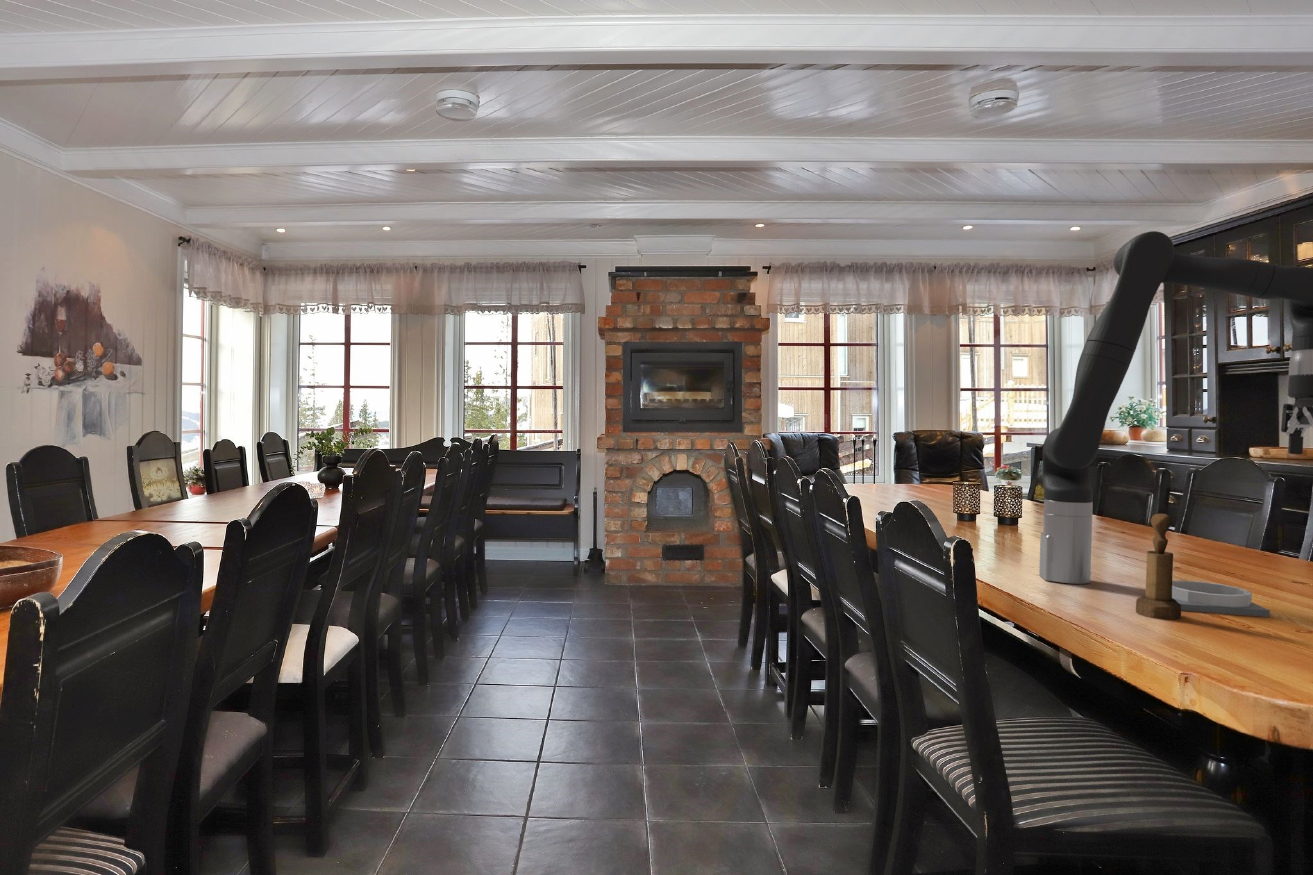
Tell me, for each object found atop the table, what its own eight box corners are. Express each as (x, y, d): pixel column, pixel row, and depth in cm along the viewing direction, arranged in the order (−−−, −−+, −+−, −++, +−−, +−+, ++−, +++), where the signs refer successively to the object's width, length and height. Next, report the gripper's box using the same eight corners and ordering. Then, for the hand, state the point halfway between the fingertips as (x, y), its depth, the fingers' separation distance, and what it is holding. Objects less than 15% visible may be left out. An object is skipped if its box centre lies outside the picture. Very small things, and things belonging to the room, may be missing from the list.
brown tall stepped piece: (1137, 616, 130) (1140, 514, 130) (1134, 608, 136) (1136, 510, 136) (1183, 621, 127) (1187, 516, 127) (1177, 613, 133) (1181, 513, 133)
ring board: (1178, 610, 135) (1179, 592, 135) (1149, 593, 149) (1150, 577, 149) (1269, 616, 132) (1270, 599, 132) (1231, 599, 145) (1231, 583, 145)
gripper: (1269, 375, 155) (1265, 453, 156) (1316, 370, 141) (1311, 456, 142) (1311, 376, 154) (1307, 454, 154) (1362, 371, 140) (1357, 457, 140)
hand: (1309, 455), depth 148 cm, fingers open, 8 cm apart
